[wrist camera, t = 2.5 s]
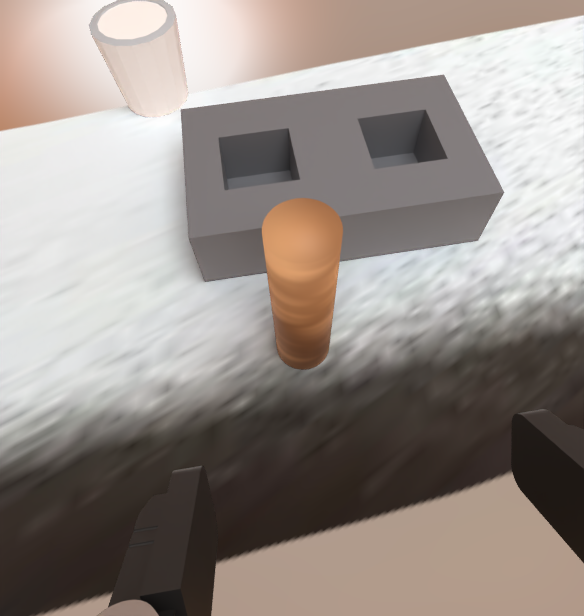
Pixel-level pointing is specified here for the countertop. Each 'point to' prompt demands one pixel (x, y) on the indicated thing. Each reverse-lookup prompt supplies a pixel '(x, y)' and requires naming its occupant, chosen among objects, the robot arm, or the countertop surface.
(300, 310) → the peg
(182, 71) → the shot glass
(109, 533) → the countertop surface
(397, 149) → the hole block
